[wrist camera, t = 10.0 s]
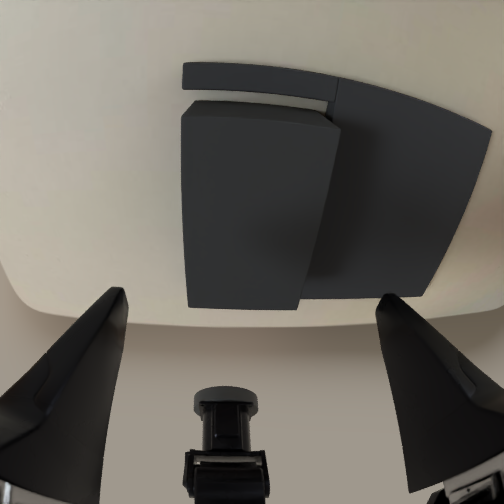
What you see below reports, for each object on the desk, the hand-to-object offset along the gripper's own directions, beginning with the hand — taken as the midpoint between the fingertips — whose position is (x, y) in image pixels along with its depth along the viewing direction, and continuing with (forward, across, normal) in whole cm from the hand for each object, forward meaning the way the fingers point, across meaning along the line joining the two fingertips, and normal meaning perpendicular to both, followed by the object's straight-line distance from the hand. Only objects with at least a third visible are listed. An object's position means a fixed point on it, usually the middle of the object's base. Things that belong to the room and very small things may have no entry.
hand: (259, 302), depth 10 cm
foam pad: (+8, 0, 0) cm, 8 cm away
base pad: (+8, -4, 0) cm, 9 cm away
